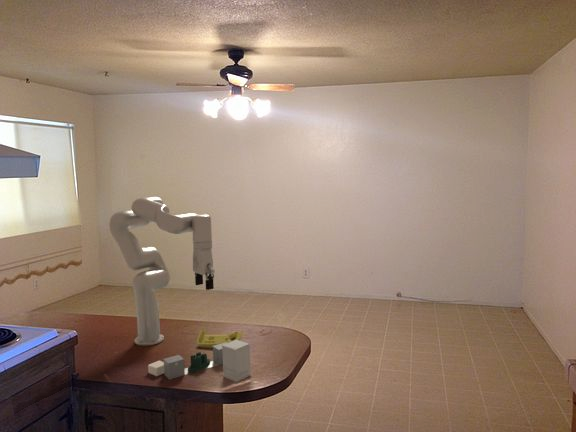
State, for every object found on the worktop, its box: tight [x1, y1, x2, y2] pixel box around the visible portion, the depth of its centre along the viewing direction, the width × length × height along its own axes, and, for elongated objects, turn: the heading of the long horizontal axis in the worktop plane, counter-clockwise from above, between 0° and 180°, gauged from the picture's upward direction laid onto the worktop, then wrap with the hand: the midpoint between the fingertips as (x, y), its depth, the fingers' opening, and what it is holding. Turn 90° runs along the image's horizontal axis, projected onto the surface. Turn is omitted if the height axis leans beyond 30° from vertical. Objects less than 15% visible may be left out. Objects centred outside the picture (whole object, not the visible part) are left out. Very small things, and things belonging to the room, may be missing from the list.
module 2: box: [212, 343, 227, 366], centre depth 186 cm, size 5×6×6 cm
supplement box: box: [222, 340, 252, 384], centre depth 172 cm, size 7×7×13 cm
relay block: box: [147, 360, 164, 377], centre depth 177 cm, size 5×5×4 cm
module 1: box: [162, 354, 186, 380], centre depth 174 cm, size 5×6×6 cm
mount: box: [187, 351, 211, 374], centre depth 180 cm, size 11×4×5 cm, turn 148°
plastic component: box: [196, 329, 244, 349], centre depth 204 cm, size 20×7×10 cm
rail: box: [174, 360, 222, 379], centre depth 180 cm, size 5×26×1 cm, turn 125°
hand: (204, 286), depth 192 cm, fingers open, 9 cm apart
